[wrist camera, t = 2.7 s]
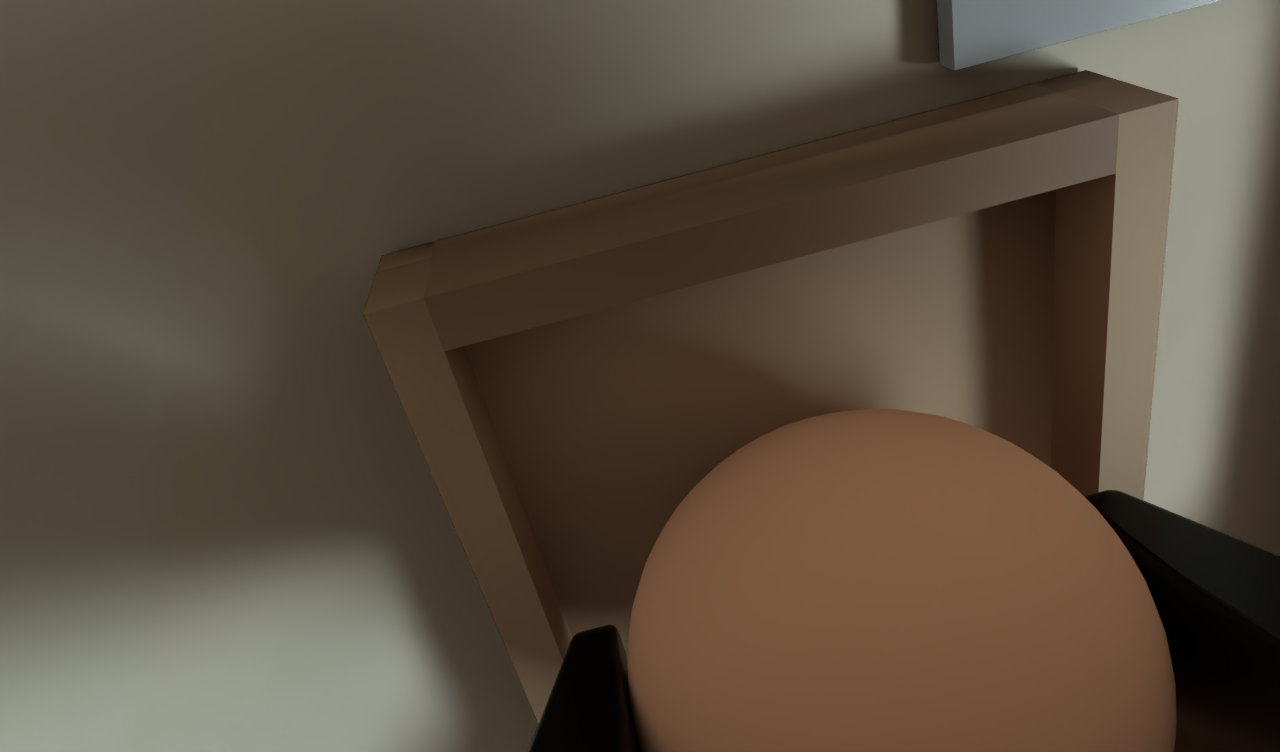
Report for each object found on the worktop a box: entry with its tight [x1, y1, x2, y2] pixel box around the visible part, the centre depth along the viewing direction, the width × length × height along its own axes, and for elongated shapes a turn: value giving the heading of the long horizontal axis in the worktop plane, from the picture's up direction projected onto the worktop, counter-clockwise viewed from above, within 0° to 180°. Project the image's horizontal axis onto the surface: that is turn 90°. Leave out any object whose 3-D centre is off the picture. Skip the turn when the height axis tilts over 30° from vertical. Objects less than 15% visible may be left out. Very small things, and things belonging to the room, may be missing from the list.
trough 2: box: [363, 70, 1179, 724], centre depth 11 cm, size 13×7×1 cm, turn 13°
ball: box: [627, 409, 1176, 752], centre depth 8 cm, size 4×4×4 cm
